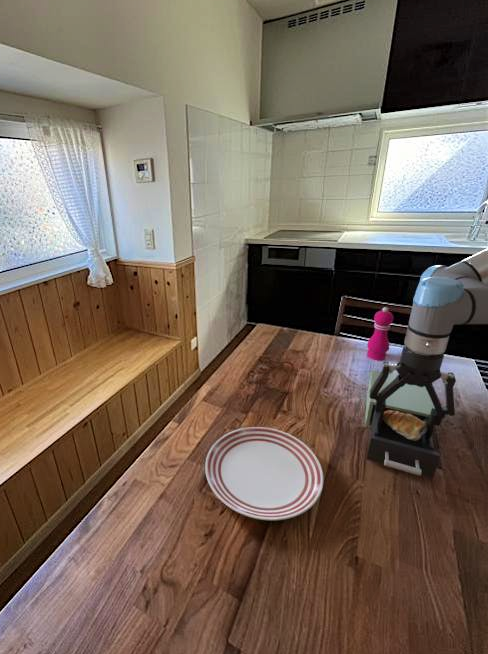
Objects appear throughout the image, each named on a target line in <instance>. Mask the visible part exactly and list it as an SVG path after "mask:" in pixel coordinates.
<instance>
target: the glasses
mask: <svg viewBox="0 0 488 654" xmlns="http://www.w3.org/2000/svg"><path fill="white" fill-rule="evenodd" d="M261 358H265V359H267V360H268V363H264V362H263V361H261ZM258 362H259V364H260V365H262V364H264V365H267V366H266V367H269V366H271V364H272V363H276V364H279V365H280V367H281V370H282V371H284V372H288V373H287V374H286V377H285V378H283V380H282V382H281V386H280V390H279V392H280V393H283V389H284V383H285V382H286V381H287V380H288V378H289V376H290V374H291V373H292V372H294V369H295V366H294V364H293V363H292V362H290V361H288V360H283V361H279V360H276V359H271V358H270V357H269V356H267V355H264V354H262V355H259V357H258V358H257V359H256V361H255V363H254V364H253V366H252V367H251V368H250V369H249V370H248V371H247V373H246V377H245V381H246V380H247V379H249V375H250V373H251V372H252V371H253V370H254V369H255V368H256V366H257V364H258ZM283 364H289V365H290V366H291V367H290V369H286V368H285V367H284V365H283ZM264 365H263V366H264ZM247 381H248V380H247Z"/></svg>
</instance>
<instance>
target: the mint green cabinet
mask: <svg viewBox="0 0 488 654" xmlns="http://www.w3.org/2000/svg"><path fill="white" fill-rule="evenodd" d="M381 371H382V370H381ZM381 371H380V370H376V369H375V370H374V369H371V371H370V375H369V381H368V385H367V389H366V390H367V391H366V399H365V401H366V402H365V403H366V404H365V421H364V427H365V428H370V429H371V422H372V415H373V410H374V406H375V405H376V400H375V399H371V398H370V397H369V396H370V389H371V388H372V386H373V384H374V383H375V381H376V380H377V378H378V376H379V375H380V373H381ZM398 375H399V374H398V373H397V374H396V373H393V372H392V373H391V374H389V375H388V378H387V379H386V381H385V383H384V384H383V386H382V387H381V389H380V391H379V392H381V391H382V390H383V389H384V388H385V387H386V386H387V385H389V384H390V383H391V382H392V381H393V380H394V379H395V378H396V377H397V376H398ZM379 392H378V393H379ZM385 408H390V409H394V410H399V411H403V412H408V413H412V414H417V415H421V416H426V417H428V418H429V416H430V413H431V410H432V408H434V409H435V407H434V405H433V403H432V400H431V398H430V396H429V393H428V392H427V390H426V387H425V386H423V387H419V386H416V385H408V384H407V383H406V384H405V385H404V386H403V387H400V388H399V389H398V390H397V391H395V392H394V393H393V394H392V395H391V396H389V397H388V398H387V399H386V406H385Z"/></svg>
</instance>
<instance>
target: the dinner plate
mask: <svg viewBox="0 0 488 654" xmlns="http://www.w3.org/2000/svg"><path fill="white" fill-rule="evenodd" d="M204 471H205V476H206V480H207V482H208V483H207V484H208V485H209V487H210V489H211V491H212V492H213V493H214V495H215V496H216V498H218V500H220V501H221V502H222V503H223V504H224V505H225V506H227V508H229V509H231V510H232V511H234V512H236V513H238V514H240V515H241V516H245V517H248V518H250V519H255V520H259V521H260V520H261V521H271V522H272V521H283V520H285V521H286V520H288V519H292V518H295V517H298V516H301V515H302V514H304V513H306V512H307V511H309V510H310V509H311V508H312V507H313V506H314V505H315V504H316V503H317V502H318V500H319V498H320V496H321V494H322V492H323V487H324V473H323V472H324V471H323V467H322V465H321V463H320V461H319V459H318V457H317V456H316V454H315V453H314V452H313V450H312V449H311V448H310V447H309V446H308V445H306V444H305V443H304V442H303V441H302V440H301V439H299V438H297V437H295V436H294V435H292V434H290V433H288V432H285V431H283V430H279V429H276V428H272V427H265V426H248V427H241V428H238V429H235V430H232V431H230V432H227V433H226V434H224V435H222V436H221V437H220V438H218V439H217V440H216V441H215V442H214V443H213V444H212V446H211V447H210V448H209V451H208V453H207V455H206V459H205V464H204Z"/></svg>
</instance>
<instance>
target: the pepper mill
mask: <svg viewBox="0 0 488 654" xmlns="http://www.w3.org/2000/svg"><path fill="white" fill-rule="evenodd" d="M373 319H374V325H373V327H374V331H373V334H372V336H370V337H369V339H368V341H367V344H366V347H367V352H366V356H367V357H368V358H369V359H370V360H371V359H372V360H373V361H384V360H385V359H386V358H387V352H388V351H389V350H390V342H389V338H388V331H389V330H390V329H391V324H392V323H393V321H394V315H393V313H392V312H390V311H389V308H388V307H385V306H384V307H383V308H382V309H381V310H379V311H376V313H375V314H374V317H373Z"/></svg>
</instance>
